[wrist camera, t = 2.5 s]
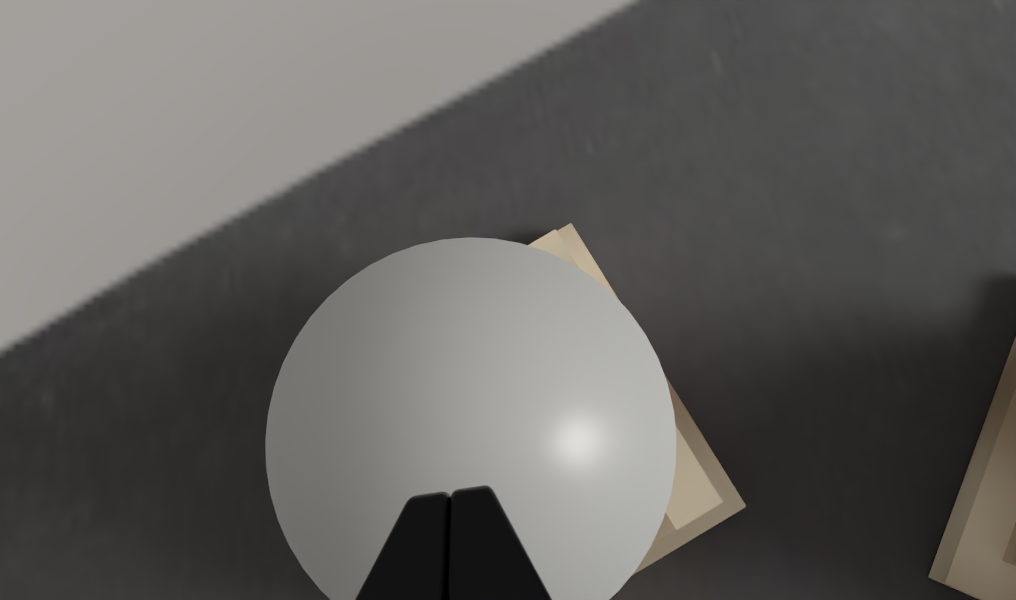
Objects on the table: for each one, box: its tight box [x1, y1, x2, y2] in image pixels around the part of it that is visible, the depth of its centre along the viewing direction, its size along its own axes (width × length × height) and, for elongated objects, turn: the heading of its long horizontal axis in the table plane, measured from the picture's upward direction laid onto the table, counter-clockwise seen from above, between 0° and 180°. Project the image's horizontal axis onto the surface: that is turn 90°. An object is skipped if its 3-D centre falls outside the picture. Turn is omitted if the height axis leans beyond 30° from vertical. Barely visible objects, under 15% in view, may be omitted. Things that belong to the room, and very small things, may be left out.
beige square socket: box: [528, 223, 747, 576], centre depth 20 cm, size 8×8×6 cm
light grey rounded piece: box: [265, 237, 677, 600], centre depth 15 cm, size 5×5×6 cm
